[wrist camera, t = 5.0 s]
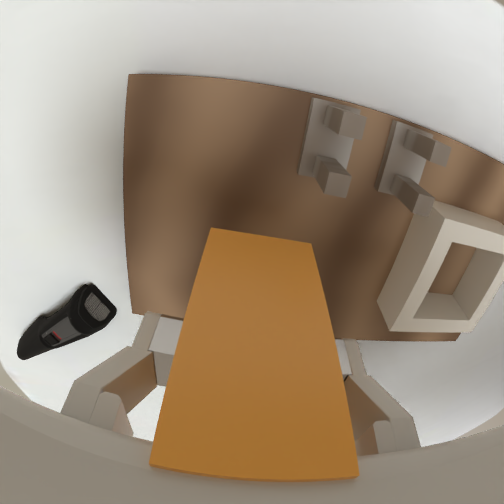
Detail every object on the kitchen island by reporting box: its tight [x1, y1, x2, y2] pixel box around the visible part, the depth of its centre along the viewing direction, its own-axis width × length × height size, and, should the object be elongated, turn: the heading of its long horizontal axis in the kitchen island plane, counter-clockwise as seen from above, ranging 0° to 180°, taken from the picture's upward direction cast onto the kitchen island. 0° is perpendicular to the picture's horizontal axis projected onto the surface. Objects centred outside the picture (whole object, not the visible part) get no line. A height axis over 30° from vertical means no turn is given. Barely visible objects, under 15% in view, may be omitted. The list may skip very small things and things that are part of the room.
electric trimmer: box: [17, 284, 117, 360], centre depth 23 cm, size 4×16×3 cm, turn 120°
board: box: [123, 74, 504, 341], centre depth 17 cm, size 28×16×5 cm, turn 81°
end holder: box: [377, 200, 504, 333], centre depth 17 cm, size 8×8×3 cm
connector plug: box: [149, 228, 360, 482], centre depth 9 cm, size 4×4×10 cm
